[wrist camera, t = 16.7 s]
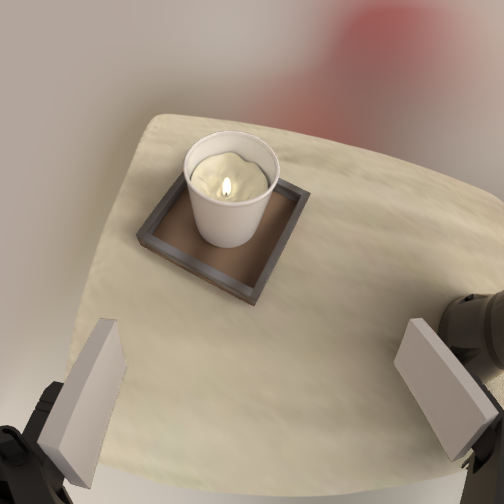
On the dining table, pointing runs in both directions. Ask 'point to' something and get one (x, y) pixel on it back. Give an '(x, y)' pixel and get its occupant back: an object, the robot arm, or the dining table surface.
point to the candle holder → (230, 185)
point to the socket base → (216, 258)
